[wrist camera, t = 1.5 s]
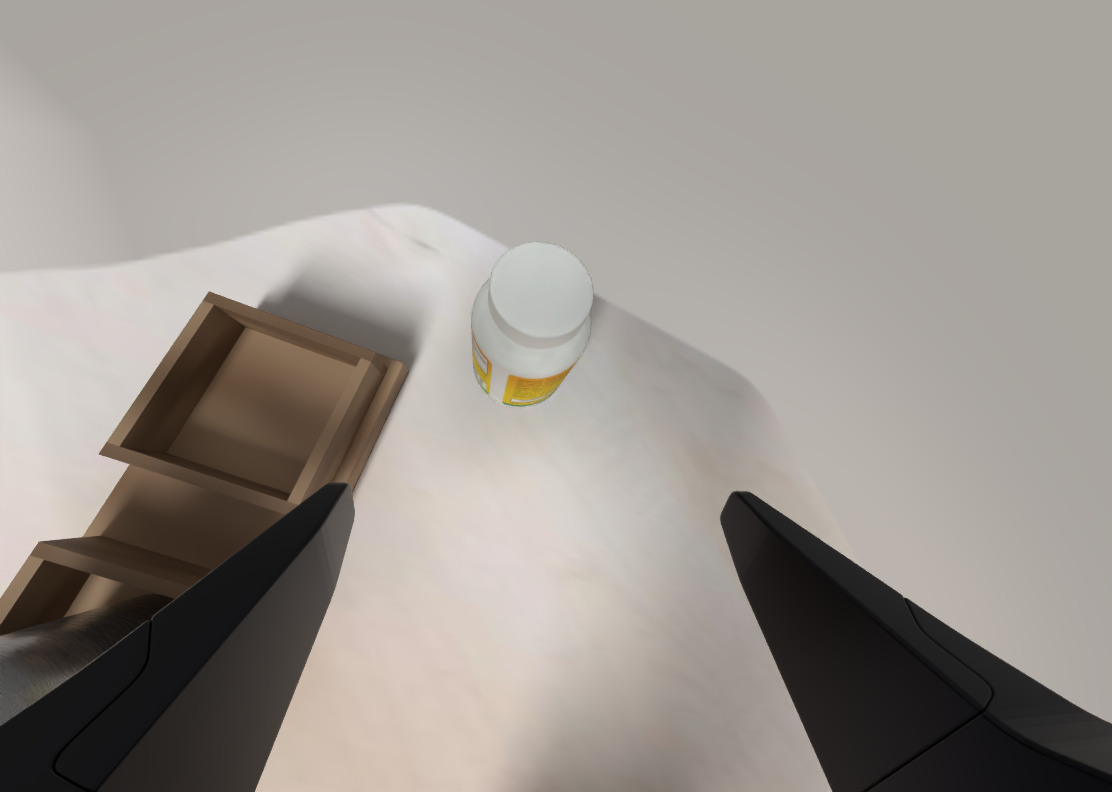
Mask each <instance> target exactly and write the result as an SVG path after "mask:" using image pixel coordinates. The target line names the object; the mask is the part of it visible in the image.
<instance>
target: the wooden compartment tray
mask: <svg viewBox="0 0 1112 792" xmlns="http://www.w3.org/2000/svg"><path fill="white" fill-rule="evenodd" d="M407 374H408V370H407V368H406V367H405V365H404V363H401V362H399V361H396V360H393V359H391V358H388V357H385V356H382V355H380V354H377V353H376V352H373V351H371V350H368V349H365V348H362V347H360V346H357V345H354V344H351V343H349V342H346V341H343V340H341V339H338V338H335V337H332V336H330V335H327V334H324V333H321V332H319V331H316V330H313V329H310V328H308V327H305V326H302V325H299V324H297V323H294V322H291V321H289V320H286V319H283V318H280V317H278V316H275V315H272V314H269V313H267V312H264V311H261V310H258V309H256V308H253V307H250V306H248V305H245V304H242V303H239V302H237V301H234V300H231V299H228V298H226V297H223V296H220V295H217V294H215V293H212V292H208V294H207V295H206V297H205V298H204V300H203V301H202V303H201V304H200V305H199V307H198V308H197V310H196V311H195V313H194V314H193V316H192V317H191V319H190V320H189V322H188V323H187V325H186V326H185V328H184V329H183V331H182V332H181V333H180V335H179V336H178V338H177V339H176V341H175V342H174V344H173V345H172V347H171V348H170V350H169V351H168V353H167V354H166V356H165V357H164V358H163V360H162V361H161V363H160V364H159V366H158V367H157V369H156V370H155V372H154V373H153V375H152V376H151V378H150V379H149V381H148V382H147V383H146V385H145V386H144V388H143V389H142V391H141V392H140V394H139V395H138V397H137V398H136V400H135V401H134V403H133V404H132V406H131V407H130V409H129V410H128V411H127V413H126V414H125V416H124V417H123V419H122V420H121V422H120V423H119V425H118V426H117V428H116V429H115V431H114V432H113V434H112V435H111V436H110V438H109V439H108V441H107V442H106V444H105V445H104V447H103V448H102V450H101V451H100V453H99V454H100V455H103V456H106V457H109V458H112V459H115V460H118V461H121V462H125V463H128V464H130V465H129V466H128V468H127V469H126V471H125V472H124V474H123V476H122V477H121V479H120V480H119V482H118V483H117V485H116V486H115V488H114V489H113V491H112V492H111V494H110V496H109V497H108V499H107V500H106V502H105V503H104V505H103V506H102V508H101V509H100V511H99V512H98V514H97V516H96V517H95V519H94V520H93V522H92V523H91V525H90V526H89V528H88V529H87V531H86V532H85V534H84V536H83V537H81V538H71V539H61V540H51V541H41V542H38V544H37V545H36V547H35V548H34V550H33V551H32V553H31V554H30V556H29V557H28V559H27V560H26V562H25V563H24V565H23V566H22V567H21V569H20V570H19V572H18V573H17V575H16V576H15V578H14V579H13V581H12V582H11V584H10V585H9V587H8V588H7V590H6V591H5V592H4V594H3V595H2V597H1V598H0V636H2V635H5V634H9V633H12V632H16V631H19V630H23V629H26V628H30V627H33V626H37V625H40V624H44V623H47V622H50V621H54V620H57V619H61V618H64V617H68V616H71V615H75V614H78V613H82V612H85V611H89V610H92V609H96V608H99V607H103V606H106V605H110V604H113V603H117V602H120V601H124V600H127V599H131V598H134V597H138V596H143V595H153V594H156V595H164V596H168V597H171V598H174V599H176V598H177V597H178V596H180V595H181V594H182V593H184V592H185V591H186V590H187V589H189V588H190V587H191V586H193V585H194V584H195V583H197V582H198V581H199V580H201V579H202V578H203V577H205V576H206V575H207V574H208V573H210V572H211V571H212V570H214V569H215V568H216V567H218V566H219V565H220V564H222V563H223V562H224V561H226V560H227V559H228V558H229V557H231V556H232V555H233V554H235V553H236V552H237V551H239V550H240V549H241V548H243V547H244V546H245V545H247V544H248V543H249V542H250V541H252V540H253V539H254V538H256V537H257V536H258V535H260V534H261V533H262V532H264V531H265V530H266V529H268V528H269V527H270V526H271V525H273V524H274V523H275V522H277V521H278V520H279V519H281V518H282V517H283V516H285V515H286V514H287V513H289V512H290V511H291V510H292V509H294V508H295V507H296V506H298V505H299V504H300V503H302V502H303V501H304V500H306V499H307V498H308V497H310V496H311V495H312V494H313V493H315V492H316V491H317V490H319V489H320V488H321V487H323V486H324V485H325V484H327V483H330V482H346V483H349V484H350V486H351V490H352V491H353V489H354V486H355V484H356V482H357V480H358V478H359V476H360V474H361V472H362V469H363V467H364V465H365V463H366V461H367V459H368V457H369V455H370V452H371V450H372V448H373V446H374V444H375V442H376V440H377V438H378V435H379V433H380V431H381V429H382V427H383V425H384V423H385V421H386V418H387V416H388V414H389V412H390V410H391V408H392V406H393V403H394V401H395V399H396V397H397V395H398V393H399V391H400V389H401V386H402V384H403V382H404V380H405V378H406V376H407Z"/></svg>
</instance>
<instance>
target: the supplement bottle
mask: <svg viewBox="0 0 1112 792" xmlns="http://www.w3.org/2000/svg"><path fill="white" fill-rule="evenodd" d="M592 304H593V284H592V280H591V277H590V275H589V273H588V271H587V269H586V268H585V266H584V265H583V264H582V262H581V261H580V260H579V259H578V258H577V257H576V256H575V255H573V254H572V253H571V252H569V251H568V250H566V249H564V248H562V247H560V246H557V245H554V244H551V243H544V242H529V243H524V244H521V245H518V246H516V247H514V248H512V249H510V250H509V251H507V252H506V253H505V254H504V255H502V256H501V258H500V259H499V260H498V261H497V263H496V264H495V266H494V268H493V270H492V273H491V277H490V278H489V279H488V280H487V281H486V282H485V284H484V285H483V286H482V287H481V289H480V291H479V292H478V294H477V296H476V298H475V301H474V304H473V309H472V318H471V328H472V349H473V368H474V373H475V377H476V379H477V382H478V384H479V385H480V387H481V388H482V390H483V391H484V392H485V393H486V394H487V395H488V396H489V397H490V398H491V399H493V400H494V401H496V402H498V403H500V404H502V405H505V406H508V407H514V408H522V407H530V406H534V405H537V404H539V403H541V402H543V401H545V400H546V399H548V398H549V397H550V396H551V395H552V394H553V393H554V392H555V391H556V389H557V388H558V387H559V385H560V384H561V382H562V381H563V380H564V378H565V377H566V375H567V374H568V373H569V371H570V370H571V369H572V367H573V366H574V365H575V363H576V362H577V361H578V359H579V358H580V357H581V355H582V353H583V352H584V350H585V348H586V346H587V343H588V341H589V337H590V332H591V316H590V310H591V308H592Z"/></svg>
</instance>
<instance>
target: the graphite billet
mask: <svg viewBox="0 0 1112 792" xmlns="http://www.w3.org/2000/svg"><path fill="white" fill-rule="evenodd" d="M173 600H174V598H171V597H168V596H164V595H156V594H153V595H143V596H138V597H134V598H131V599H127V600H124V601H120V602H117V603H113V604H110V605H106V606H103V607H99V608H96V609H92V610H89V611H85V612H82V613H78V614H75V615H71V616H68V617H64V618H61V619H57V620H54V621H50V622H47V623H44V624H40V625H37V626H33V627H30V628H26V629H23V630H19V631H16V632H12V633H9V634H5V635H2V636H0V725H2V724H3V723H5V722H6V721H8V720H9V719H11V718H12V717H14V716H15V715H17V714H18V713H19V712H21V711H22V710H24V709H25V708H27V707H28V706H30V705H31V704H32V703H34V702H35V701H37V700H38V699H40V698H41V697H43V696H44V695H45V694H47V693H48V692H50V691H51V690H53V689H54V688H55V687H57V686H58V685H60V684H61V683H63V682H64V681H65V680H67V679H68V678H70V677H71V676H73V675H74V674H76V673H77V672H78V671H80V670H81V669H82V668H84V667H85V666H86V665H88V664H89V663H90V662H92V661H93V660H95V659H96V658H97V657H99V656H100V655H101V654H103V653H104V652H105V651H107V650H108V649H109V648H111V647H112V646H114V645H115V644H116V643H118V642H119V641H120V640H122V639H123V638H124V637H126V636H127V635H128V634H129V633H131V632H132V631H133V630H135V629H136V628H137V627H139V626H140V625H141V624H143V623H144V622H145V621H147V620H152V617H153V615H155V614H156V613H157V612H159V611H160V610H161V609H163V608H164V607H165V606H166V605H168V604H169V603H170V602H172V601H173Z"/></svg>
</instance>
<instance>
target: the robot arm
mask: <svg viewBox="0 0 1112 792" xmlns="http://www.w3.org/2000/svg"><path fill="white" fill-rule="evenodd" d="M354 516H355V508H354V502H353V496H352V490H351V486H350V484H349V483H346V482H330V483H327V484H325V485H324V486H323V487H321V488H320V489H319V490H317V491H316V492H315V493H313V494H312V495H311V496H310V497H308V498H307V499H306V500H304V501H303V502H302V503H300V504H299V505H298V506H296V507H295V508H294V509H292V510H291V511H290V512H289V513H287V514H286V515H285V516H283V517H282V518H281V519H279V520H278V521H277V522H275V523H274V524H273V525H271V526H270V527H269V528H268V529H266V530H265V531H264V532H262V533H261V534H260V535H258V536H257V537H256V538H254V539H253V540H252V541H250V542H249V543H248V544H247V545H245V546H244V547H243V548H241V549H240V550H239V551H237V552H236V553H235V554H233V555H232V556H231V557H229V558H228V559H227V560H226V561H224V562H223V563H222V564H220V565H219V566H218V567H216V568H215V569H214V570H212V571H211V572H210V573H208V574H207V575H206V576H205V577H203V578H202V579H201V580H199V581H198V582H197V583H195V584H194V585H193V586H191V587H190V588H189V589H187V590H186V591H185V592H184V593H182V594H181V595H180V596H178V597H177V598H176V599H174V600H173V601H172V602H170V603H169V604H168V605H166V606H165V607H164V608H163V609H161V610H160V611H159V612H157V613H156V614H155V615H153V617H152V620H147V621H145V622H144V623H143V624H141V625H140V626H139V627H137V628H136V629H135V630H133V631H132V632H131V633H129V634H128V635H127V636H126V637H124V638H123V639H122V640H120V641H119V642H118V643H116V644H115V645H114V646H112V647H111V648H109V649H108V650H107V651H105V652H104V653H103V654H101V655H100V656H99V657H97V658H96V659H95V660H93V661H92V662H90V663H89V664H88V665H86V666H85V667H84V668H82V669H81V670H80V671H78V672H77V673H76V674H74V675H73V676H71V677H70V678H68V679H67V680H65V681H64V682H63V683H61V684H60V685H58V686H57V687H55V688H54V689H53V690H51V691H50V692H48V693H47V694H45V695H44V696H43V697H41V698H40V699H38V700H37V701H35V702H34V703H32V704H31V705H30V706H28V707H27V708H25V709H24V710H22V711H21V712H19V713H18V714H17V715H15V716H14V717H12V718H11V719H9V720H8V721H6V722H5V723H3V724H2V725H0V792H255V790H256V787H257V785H258V782H259V780H260V777H261V775H262V772H263V770H264V767H265V765H266V762H267V760H268V757H269V755H270V752H271V750H272V747H273V745H274V742H275V740H276V737H277V735H278V732H279V730H280V727H281V724H282V722H283V719H284V717H285V714H286V712H287V709H288V707H289V704H290V702H291V699H292V697H293V694H294V692H295V689H296V687H297V684H298V682H299V679H300V677H301V674H302V672H303V669H304V667H305V664H306V662H307V659H308V657H309V654H310V652H311V649H312V646H313V644H314V641H315V639H316V636H317V634H318V631H319V629H320V626H321V624H322V621H323V619H324V616H325V614H326V611H327V609H328V606H329V604H330V601H331V598H332V596H333V593H334V590H335V587H336V584H337V580H338V577H339V573H340V570H341V566H342V562H343V558H344V555H345V551H346V547H347V544H348V540H349V536H350V533H351V529H352V525H353V522H354ZM720 521H721V526H722V529H723V532H724V535H725V538H726V541H727V544H728V547H729V550H730V553H731V556H732V559H733V562H734V565H735V568H736V571H737V574H738V577H739V579H740V582H741V584H742V587H743V589H744V592H745V594H746V596H747V599H748V601H749V603H750V605H751V608H752V610H753V612H754V614H755V617H756V619H757V621H758V624H759V626H760V628H761V630H762V633H763V635H764V637H765V639H766V642H767V644H768V646H769V649H770V651H771V653H772V655H773V658H774V660H775V662H776V664H777V667H778V669H779V671H780V674H781V676H782V678H783V680H784V683H785V685H786V687H787V689H788V692H789V694H790V696H791V699H792V701H793V703H794V705H795V708H796V710H797V712H798V714H799V717H800V719H801V721H802V724H803V726H804V728H805V730H806V733H807V735H808V737H809V739H810V742H811V744H812V746H813V749H814V751H815V753H816V755H817V758H818V760H819V762H820V764H821V767H822V769H823V771H824V774H825V776H826V778H827V780H828V783H829V785H830V787H831V789H832V792H1112V724H1111V723H1109V722H1107V721H1104V720H1102V719H1100V718H1098V717H1096V716H1095V715H1093V714H1091V713H1089V712H1087V711H1085V710H1083V709H1082V708H1080V707H1078V706H1076V705H1075V704H1073V703H1071V702H1069V701H1068V700H1066V699H1065V698H1063V697H1062V696H1060V695H1058V694H1057V693H1055V692H1053V691H1052V690H1050V689H1048V688H1047V687H1045V686H1044V685H1042V684H1041V683H1039V682H1037V681H1036V680H1034V679H1032V678H1031V677H1029V676H1027V675H1026V674H1024V673H1023V672H1021V671H1019V670H1018V669H1016V668H1015V667H1013V666H1011V665H1010V664H1008V663H1006V662H1005V661H1003V660H1002V659H1000V658H998V657H997V656H995V655H993V654H992V653H990V652H989V651H987V650H985V649H984V648H982V647H981V646H979V645H977V644H976V643H974V642H972V641H971V640H969V639H968V638H966V637H965V636H963V635H962V634H960V633H958V632H957V631H955V630H954V629H952V628H951V627H949V626H948V625H946V624H944V623H943V622H942V621H940V620H938V619H937V618H935V617H934V616H932V615H931V614H930V613H928V612H926V611H925V610H924V609H922V608H921V607H919V606H918V605H916V604H915V603H913V602H912V601H910V600H909V599H907V598H903V596H902V595H901V594H900V593H898V592H897V591H895V590H894V589H892V588H891V587H889V586H888V585H887V584H885V583H884V582H882V581H881V580H879V579H878V578H876V577H874V576H873V575H872V574H870V573H869V572H867V571H866V570H864V569H863V568H861V567H860V566H858V565H857V564H856V563H854V562H853V561H851V560H850V559H848V558H847V557H845V556H844V555H842V554H841V553H839V552H838V551H836V550H835V549H833V548H832V547H830V546H829V545H827V544H826V543H825V542H823V541H822V540H820V539H819V538H817V537H816V536H814V535H813V534H811V533H810V532H808V531H807V530H805V529H804V528H802V527H801V526H799V525H798V524H796V523H795V522H793V521H792V520H791V519H789V518H788V517H786V516H785V515H783V514H782V513H780V512H779V511H777V510H776V509H774V508H773V507H771V506H770V505H768V504H767V503H765V502H764V501H762V500H761V499H760V498H758V497H757V496H755V495H754V494H752V493H750V492H747V491H734V492H732V493H731V494H730V496H729V498H728V500H727V502H726V504H725V506H724V508H723V510H722V512H721V516H720Z"/></svg>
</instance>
